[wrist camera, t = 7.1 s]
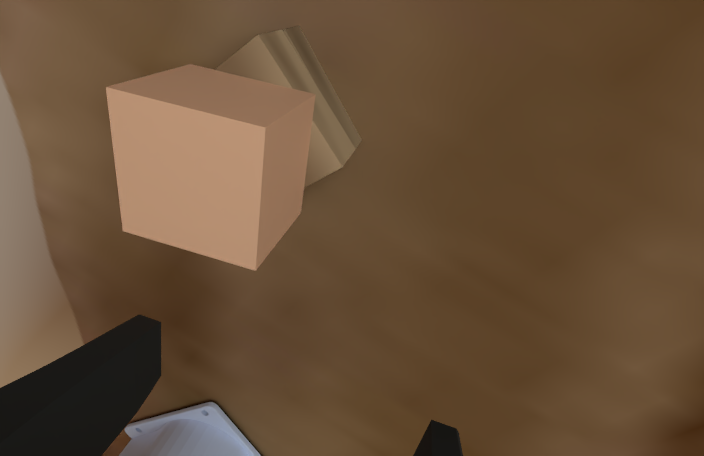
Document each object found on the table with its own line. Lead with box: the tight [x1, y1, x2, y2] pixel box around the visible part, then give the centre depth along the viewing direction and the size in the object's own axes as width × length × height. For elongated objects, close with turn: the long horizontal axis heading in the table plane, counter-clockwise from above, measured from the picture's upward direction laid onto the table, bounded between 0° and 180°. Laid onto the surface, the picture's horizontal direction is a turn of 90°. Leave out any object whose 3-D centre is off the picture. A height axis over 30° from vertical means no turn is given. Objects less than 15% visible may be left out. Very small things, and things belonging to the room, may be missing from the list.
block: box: [106, 64, 316, 271], centre depth 14 cm, size 4×4×4 cm
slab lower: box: [283, 26, 362, 149], centre depth 18 cm, size 5×5×2 cm
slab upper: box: [214, 30, 356, 188], centre depth 17 cm, size 5×5×2 cm
